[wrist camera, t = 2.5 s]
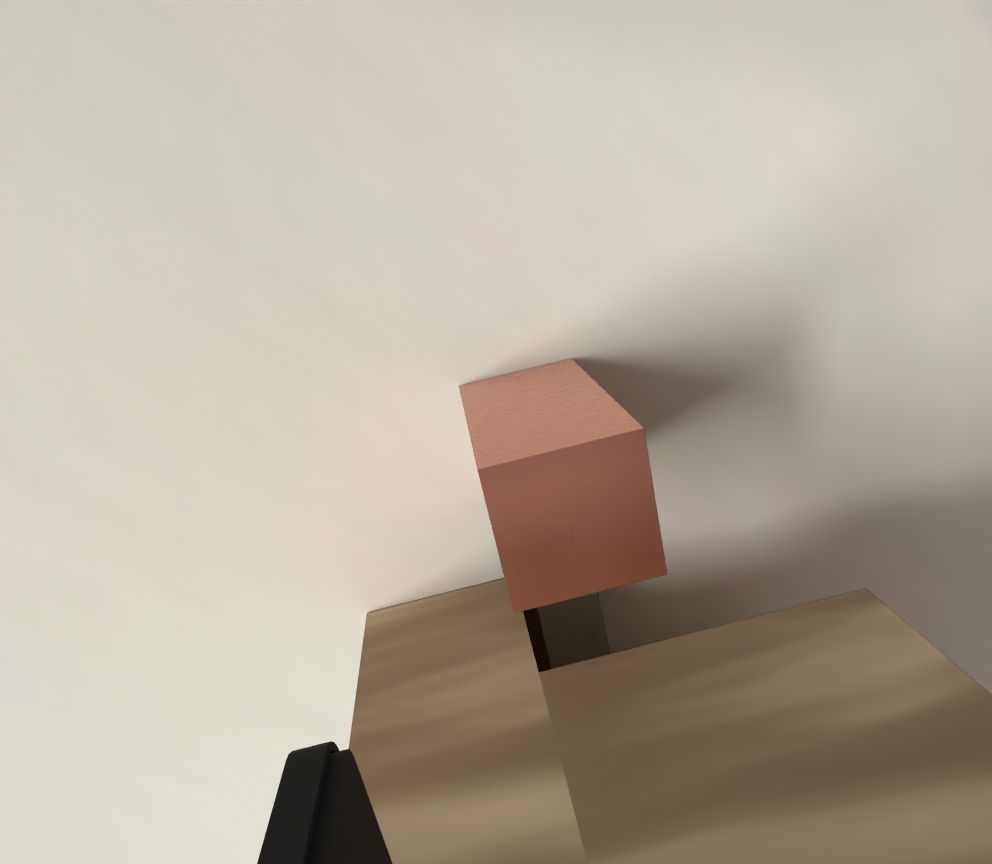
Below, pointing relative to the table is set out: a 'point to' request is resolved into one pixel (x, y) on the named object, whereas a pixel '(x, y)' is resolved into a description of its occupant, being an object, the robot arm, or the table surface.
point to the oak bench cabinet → (672, 741)
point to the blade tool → (564, 498)
